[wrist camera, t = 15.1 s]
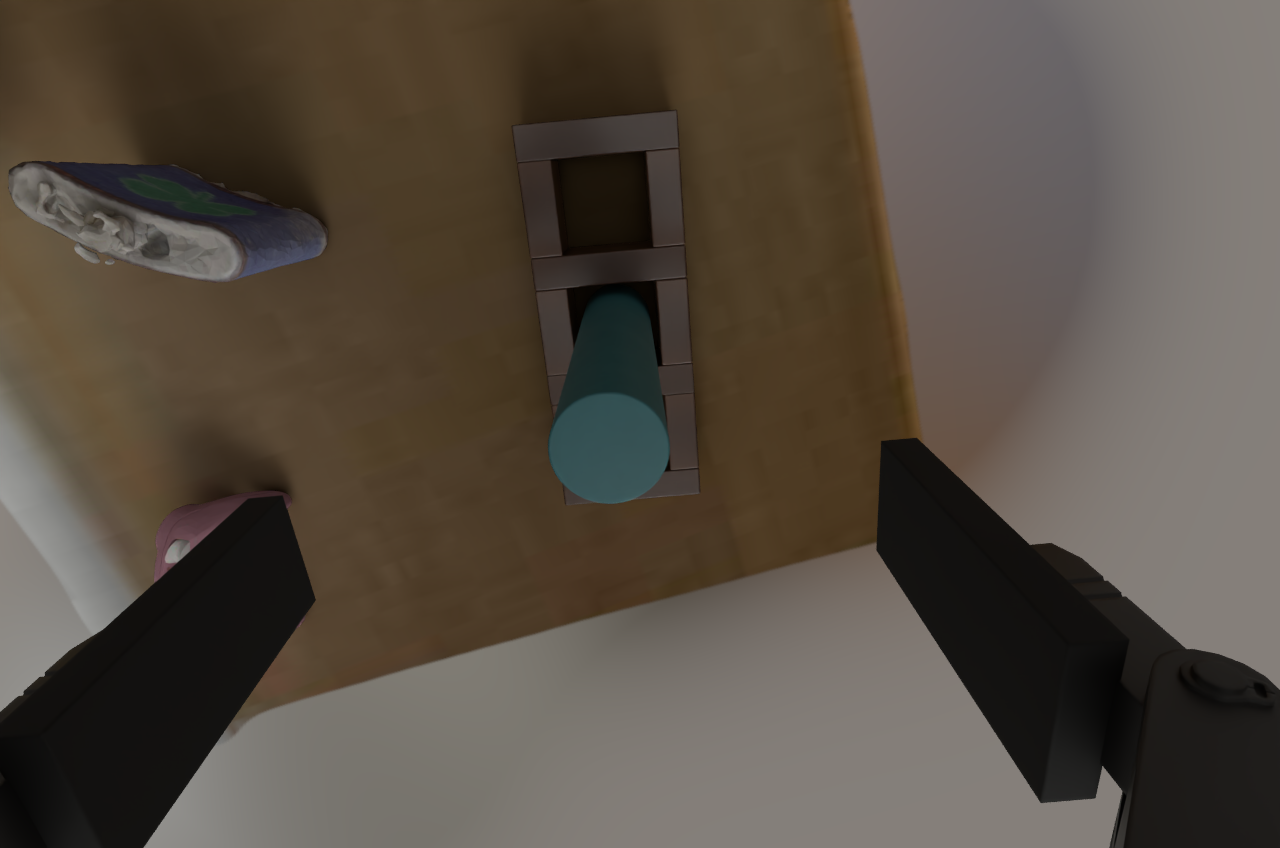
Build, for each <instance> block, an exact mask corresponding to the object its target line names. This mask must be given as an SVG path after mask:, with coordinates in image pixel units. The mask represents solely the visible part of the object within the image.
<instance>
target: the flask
mask: <svg viewBox="0 0 1280 848" xmlns="http://www.w3.org/2000/svg"><path fill="white" fill-rule="evenodd" d="M8 176H9V187H8V189H9V192H10V194H11V196H12V199H13V201H14V203H15V205H16V207H17V208H19V209H20V210H21V211H22V212H23V213H24V214H25V215H26V216H28V217H30V218H32V219H33V220H35V221H37V222H39V223H41V224H43V225H45V226H47V227H49V228H51V229H53V230H54V231H56V232H58V233H60V234H62V235H63V236H65V237H68V238H70V239H72V240H74V241H76V242H78V243H77V244H76V246H75V247H74V248H75V251H76V252H77V253H78V254H79V255H80V256H81V257H83V258H84V259H86V260H87V261H89V262H92V263H99V262H100V260H99V257H98V255H97V253H94V252H92V251H89V250H87V249H85V248H84V247H83V246H82V245H84V246H86V247H88V248H90V249H92V250H95V251H97V252H99V253H102V254H105V255H108V256H111V257H112V258H114V259H117V260H122V261H125V262H127V263H131V264H133V265H137V266H141V267H143V268H146V269H150V270H155V271H160V272H164V273H168V274H172V275H176V276H182V277H186V278H190V279H196V280H201V281H210V282H214V283H217V282H229V281H232V280H236V279H238V278H241V277H245V276H249V275H252V274H255V273H258V272H262V271H266V270H269V269H273V268H276V267H279V266H283V265H288V264H292V263H296V262H300V261H303V260H308V259H312V258H314V257H317V256H319V255H320V254H321V253H322V252H323V251H324V250H325V247H326V246H327V242H328V238H327V237H328V234H327V233H328V231H327V228H326V227H325V226H324V225H323V224H322V222H321V221H320V220H319V219H317V218H315V217H314V216H312V215H310V214H308V213H305V212H304V211H302V210H301V209H297V208H295V207H293V209H289V208H284V207H282V206H279V205H275V204H274V203H273V202H270V201H268V199H267V198H264V197H261V196H259V195H258V194H257V193H250V192H248V191H244V192H243V190H242V193H241V192H240V191H238V192H237V191H233V192H232V191H231V190H228V189H226V188H225V187H224V184H223V182H222V183H211V182H208V181H206V180H204V179H203V178H202V177H201V176H200V174H199V173H198V174H195V173H192V172H190V171H188V170H187V169H184V168H181V167H178V166H177V165H174V164H170V165H154V166H153V165H128V164H95V163H75V162H59V163H55V162H51V161H46V162H43V161H32V162H22V163H20V164H18V165H17V166H15V167H13V168H11V169H10V170H9V175H8ZM81 244H82V245H81ZM105 263H106V264H114V263H115V261H113V260H112V259H108V260H107V261H106V262H105Z"/></svg>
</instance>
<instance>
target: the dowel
mask: <svg viewBox="0 0 1280 848" xmlns="http://www.w3.org/2000/svg"><path fill="white" fill-rule="evenodd" d="M548 454H549V459H550V463H551V465H552V468H553V470H554V472H555V474H556V476H557V477H558V478H559V480H560V481H561V482H562V483H563V484H564V485H565V486H566V487H567V488H568V489H569V490H570V491H572V492H573V493H575V494H576V495H578V496H580V497H582V498H584V499H587V500H590V501H593V502H598V503H606V504H613V503H622V502H626V501H629V500H632V499H635V498H637V497H639V496H641V495H642V494H644V493H645V492H647V491H648V490H650V489H651V488H652V487H653V486H654V485H655V484H656V483H657V482H658V480H659V479H660V478H661V476H662V474H663V473H664V471H665V469H666V466H667V463H668V460H669V454H670V442H669V435H668V429H667V422H666V416H665V410H664V404H663V397H662V391H661V385H660V378H659V372H658V366H657V359H656V353H655V347H654V340H653V334H652V328H651V321H650V315H649V309H648V306H647V303H646V301H645V300H644V298H643V297H642V295H641V294H640V293H639V292H637V291H636V290H635V289H633V288H631V287H629V286H626V285H622V284H612V285H607V286H604V287H602V288H600V289H599V290H597V291H596V292H595V293H594V294H593V295H592V296H591V297H590V299H589V301H588V303H587V305H586V308H585V311H584V315H583V319H582V322H581V326H580V329H579V333H578V336H577V340H576V343H575V347H574V350H573V354H572V357H571V361H570V364H569V368H568V371H567V375H566V378H565V382H564V385H563V389H562V392H561V396H560V399H559V403H558V406H557V410H556V413H555V417H554V420H553V424H552V427H551V431H550V435H549V440H548Z"/></svg>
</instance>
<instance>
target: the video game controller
mask: <svg viewBox="0 0 1280 848" xmlns="http://www.w3.org/2000/svg"><path fill="white" fill-rule="evenodd" d="M280 495H283V498H284V501H285V504H286V507H287V509H288V508H289V506H290V505H291V503H292V499H291V497H290V496H289V495H288V494H286V493H284V492H279V491H255V492H247V493H241V494H236V495H232V496H228V497H225V498H221V499H218V500H214V501H211V502H207V503H204V504H200V505H199V504H189V505H185V506H182V507H180V508H177V509H175V510H174V511H172V512H171V513H170V514H169V515H168V516H167V517H166V518H165V519H164V520H163V522H162V523H161V525H160V527H159V530H158V532H157V535H156V547H157V550H158V553H157V558H156V562H155V574H154V580H155V582H156V581H157V580H159V579H160V578H161V577H162V576H163V575H164V574H165V573H166V572H167V571H168V570H170V569H171V568H172V567H173V566H174V565H175V564H176V563H177V562H178V561H180V560H181V559H182V558H183V557H184V556H185V555H186V554H187V553H188V552H189V551H191V550H192V549H193V548H194V547H195V546H196V545H197V544H198V543H199V542H201V541H202V540H203V539H204V538H205V537H206V536H207V535H208V534H209V533H210V532H212V531H213V530H214V529H215V528H216V527H217V526H218V525H219V524H220V523H221V522H223V521H224V520H225V519H226V518H227V517H228V516H229V515H230V514H231V513H233V512H234V511H235V510H236V509H237V508H238V507H239V506H240V505H241V504H242V503H244V502H245V501H246V500H247V499H248V498H258V497H269V496H280ZM304 620H305V616H304V618H303V619H302V620H301V622H300V623H299V625H298V626H297V628H298V627H299V626H300V625H301V624H302V623H303V621H304Z"/></svg>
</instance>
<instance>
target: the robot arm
mask: <svg viewBox="0 0 1280 848" xmlns="http://www.w3.org/2000/svg"><path fill="white" fill-rule="evenodd" d="M877 552H878V553H879V555H880V556H881V558H882V559H883V561H884V562H885V564H886V566H887V567H888V569H889V570H890V572H891V573H892V575H893V576H894V577H895V579H896V581H897V583H898V584H899V585H900V587H901V589H902V590H903V592H904V593H905V595H906V596H907V597H908V599H909V601H910V603H911V604H912V605H913V607H914V609H915V610H916V612H917V613H918V615H919V616H920V618H921V619H922V621H923V622H924V624H925V625H926V627H927V629H928V630H929V632H930V633H931V635H932V636H933V638H934V639H935V641H936V642H937V644H938V645H939V647H940V649H941V650H942V652H943V653H944V655H945V656H946V658H947V659H948V661H949V662H950V664H951V666H952V667H953V669H954V670H955V672H956V673H957V675H958V676H959V678H960V679H961V681H962V682H963V684H964V686H965V687H966V689H967V690H968V692H969V693H970V695H971V696H972V698H973V699H974V701H975V702H976V704H977V705H978V707H979V709H980V710H981V712H982V713H983V715H984V716H985V718H986V719H987V721H988V722H989V724H990V725H991V727H992V729H993V730H994V732H995V733H996V735H997V736H998V738H999V739H1000V741H1001V742H1002V744H1003V745H1004V747H1005V749H1006V750H1007V752H1008V753H1009V755H1010V756H1011V758H1012V759H1013V761H1014V762H1015V764H1016V765H1017V767H1018V769H1019V770H1020V772H1021V773H1022V775H1023V776H1024V778H1025V779H1026V781H1027V782H1028V784H1029V785H1030V787H1031V789H1032V790H1033V791H1034V793H1035V795H1036V796H1037V798H1038V799H1039V801H1040V802H1041V803H1045V802H1046V803H1047V802H1057V801H1070V800H1082V799H1093V798H1096V793H1097V788H1098V783H1099V779H1100V775H1101V770H1102V766H1103V767H1104V768H1105V769H1106V771H1107V772H1108V773H1109V774H1110V776H1111V777H1112V778H1113V779H1114V781H1115V782H1116V783H1117V784H1118V786H1119V787H1120V788H1121V790H1122V791H1123V792H1122V796H1121V800H1120V805H1119V809H1118V813H1117V818H1116V822H1115V826H1114V830H1113V834H1112V839H1111V843H1110V848H1280V690H1279V689H1278V688H1277V687H1276V686H1275V685H1274V684H1273V683H1272V682H1271V681H1270V680H1269V679H1268V678H1266V677H1265V676H1264V675H1262V674H1260V673H1259V672H1257V671H1255V670H1254V669H1252V668H1250V667H1248V666H1247V665H1245V664H1243V663H1240V662H1238V661H1235V660H1233V659H1230V658H1227V657H1225V656H1222V655H1219V654H1215V653H1210V652H1205V651H1200V650H1195V649H1185V647H1183V646H1182V645H1181V644H1180V643H1179V642H1178V641H1177V640H1175V639H1174V638H1173V637H1172V636H1171V635H1170V634H1168V633H1167V632H1166V631H1165V630H1163V628H1161V627H1160V626H1159V625H1158V624H1157V623H1156V622H1155V621H1154V620H1152V619H1151V618H1150V617H1149V616H1148V615H1147V614H1145V613H1144V612H1143V611H1142V610H1141V609H1140V608H1139V607H1137V606H1136V605H1135V604H1134V603H1133V602H1132V601H1130V600H1129V599H1128V598H1127V597H1122V595H1121V592H1120V591H1119V590H1118V589H1117V588H1115V587H1114V586H1113V585H1112V584H1111V583H1110V582H1109V581H1104V579H1103V576H1102V575H1101V574H1099V573H1098V572H1097V571H1096V570H1095V569H1094V568H1092V567H1091V566H1090V565H1089V564H1088V563H1087V562H1085V561H1084V560H1083V559H1082V558H1080V557H1078V556H1076V555H1074V554H1072V553H1070V552H1068V551H1066V550H1064V549H1062V548H1060V547H1058V546H1056V545H1054V544H1052V543H1046V544H1035V545H1029V544H1028V543H1027V542H1026V541H1025V540H1024V539H1023V538H1022V537H1021V536H1020V535H1019V534H1018V533H1017V532H1016V531H1015V530H1014V529H1012V528H1011V527H1010V526H1009V525H1008V524H1007V523H1006V522H1005V521H1004V520H1003V519H1002V518H1001V517H1000V516H999V515H997V513H996V512H994V511H993V510H992V509H991V508H990V507H989V506H988V505H987V504H986V503H985V502H984V501H983V500H982V499H981V498H980V497H979V496H978V495H976V494H975V493H974V492H973V491H972V490H971V489H970V488H969V487H968V486H967V485H966V484H965V483H964V482H963V481H962V480H961V479H960V478H959V477H957V476H956V475H955V474H954V473H953V472H952V471H951V470H950V469H949V468H948V467H947V466H946V465H945V464H944V463H943V462H942V461H940V459H938V458H937V457H936V456H935V455H934V454H933V453H932V452H931V451H930V450H929V449H928V448H927V447H926V446H925V445H924V444H923V443H922V442H920V441H919V440H918V439H917V438H910V439H899V440H888V441H881V461H880V483H879V505H878V527H877ZM315 600H316V599H315V596H314V593H313V590H312V587H311V583H310V580H309V577H308V574H307V571H306V568H305V564H304V561H303V558H302V555H301V552H300V548H299V545H298V542H297V539H296V536H295V533H294V529H293V526H292V523H291V520H290V517H289V513H288V510H287V507H286V504H285V501H284V498H283V495H280V496H269V497H258V498H248V499H247V500H246V501H245V502H244V503H242V504H241V505H240V506H239V507H238V508H237V509H236V510H235V511H234V512H233V513H231V514H230V515H229V516H228V517H227V518H226V519H225V520H224V521H223V522H221V523H220V524H219V525H218V526H217V527H216V528H215V529H214V530H213V531H212V532H210V533H209V534H208V535H207V536H206V537H205V538H204V539H203V540H202V541H201V542H199V543H198V544H197V545H196V546H195V547H194V548H193V549H192V550H191V551H189V552H188V553H187V554H186V555H185V556H184V557H183V558H182V559H181V560H180V561H178V562H177V563H176V564H175V565H174V566H173V567H172V568H171V569H170V570H168V571H167V572H166V573H165V574H164V575H163V576H162V577H161V578H160V579H159V580H157V581H156V582H155V583H154V584H153V585H152V586H151V587H150V588H149V589H148V590H146V591H145V592H144V593H143V594H142V595H141V596H140V597H139V598H138V599H136V600H135V601H134V602H133V603H132V604H131V605H130V606H129V607H128V608H127V609H125V610H124V611H123V612H122V613H121V614H120V615H119V616H118V617H117V618H116V619H114V620H113V621H112V622H111V623H110V624H109V625H108V626H107V627H106V628H104V629H103V630H102V631H100V632H99V633H97V634H95V635H94V636H92V637H90V638H89V639H87V640H86V641H84V642H82V643H81V644H79V645H77V646H76V647H74V648H72V649H71V650H70V651H68V652H67V653H66V654H65V655H64V656H63V657H62V658H61V659H59V660H58V661H57V662H56V663H55V664H54V665H53V666H52V667H50V668H49V669H48V670H47V671H46V672H45V676H44V677H39V678H38V679H37V680H36V681H35V682H34V683H32V684H31V685H30V686H29V687H28V688H27V689H26V690H25V691H24V694H23V696H18V697H17V698H16V699H14V700H13V701H12V702H11V703H10V704H9V705H8V706H7V707H6V708H4V709H3V710H2V711H1V712H0V848H143V847H144V846H145V845H146V843H147V842H148V840H149V839H150V837H151V836H152V835H153V833H154V832H155V830H156V829H157V827H158V826H159V825H160V823H161V822H162V820H163V819H164V817H165V816H166V814H167V813H168V812H169V810H170V808H171V807H172V806H173V804H174V803H175V802H176V800H177V799H178V797H179V796H180V794H181V793H182V791H183V790H184V789H185V787H186V786H187V784H188V783H189V781H190V780H191V779H192V777H193V776H194V774H195V773H196V771H197V770H198V769H199V767H200V766H201V764H202V763H203V761H204V760H205V758H206V757H207V756H208V754H209V753H210V751H211V750H212V748H213V747H214V746H215V744H216V743H217V741H218V740H219V738H220V737H221V735H222V734H223V733H224V731H225V730H226V728H227V727H228V725H229V724H230V723H231V721H232V720H233V718H234V717H235V715H236V714H237V712H238V711H239V710H240V708H241V707H242V705H243V704H244V702H245V701H246V700H247V698H248V697H249V695H250V694H251V692H252V691H253V689H254V688H255V687H256V685H257V684H258V682H259V681H260V679H261V678H262V677H263V675H264V674H265V672H266V671H267V669H268V668H269V666H270V665H271V664H272V662H273V661H274V659H275V658H276V656H277V655H278V654H279V652H280V651H281V649H282V648H283V646H284V645H285V643H286V642H287V641H288V639H289V638H290V636H291V635H292V633H293V632H294V631H295V629H296V628H297V626H298V625H299V623H300V622H301V620H302V619H303V618H304V616H305V615H306V613H307V612H308V610H309V609H310V608H311V606H312V605H313V603H314V602H315Z"/></svg>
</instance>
